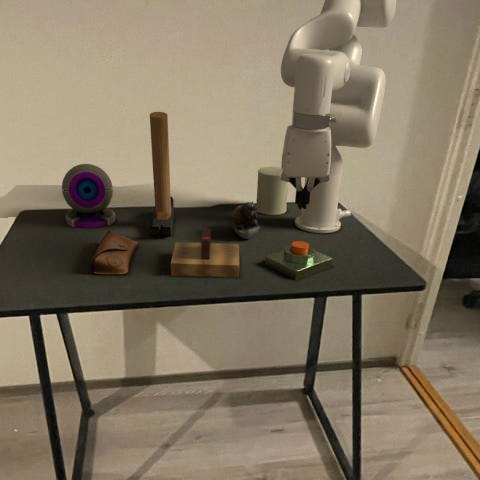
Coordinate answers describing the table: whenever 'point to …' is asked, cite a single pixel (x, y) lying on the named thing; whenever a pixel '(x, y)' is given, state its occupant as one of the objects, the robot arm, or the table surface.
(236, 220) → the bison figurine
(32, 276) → the table surface
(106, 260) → the sunglasses case
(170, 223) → the hammer
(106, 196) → the webcam
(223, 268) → the light wood flat block
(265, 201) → the can
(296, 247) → the button
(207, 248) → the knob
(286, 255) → the button box
